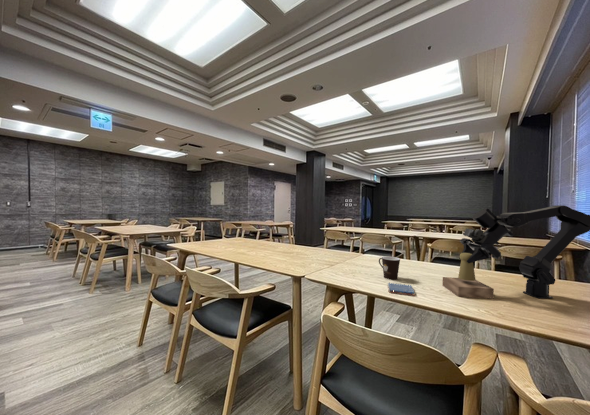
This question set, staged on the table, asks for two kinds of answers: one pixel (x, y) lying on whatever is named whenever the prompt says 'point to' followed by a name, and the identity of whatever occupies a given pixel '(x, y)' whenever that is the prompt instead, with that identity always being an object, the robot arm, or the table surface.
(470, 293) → the walnut block
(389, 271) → the coffee mug
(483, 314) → the table surface
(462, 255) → the cork
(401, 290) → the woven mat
